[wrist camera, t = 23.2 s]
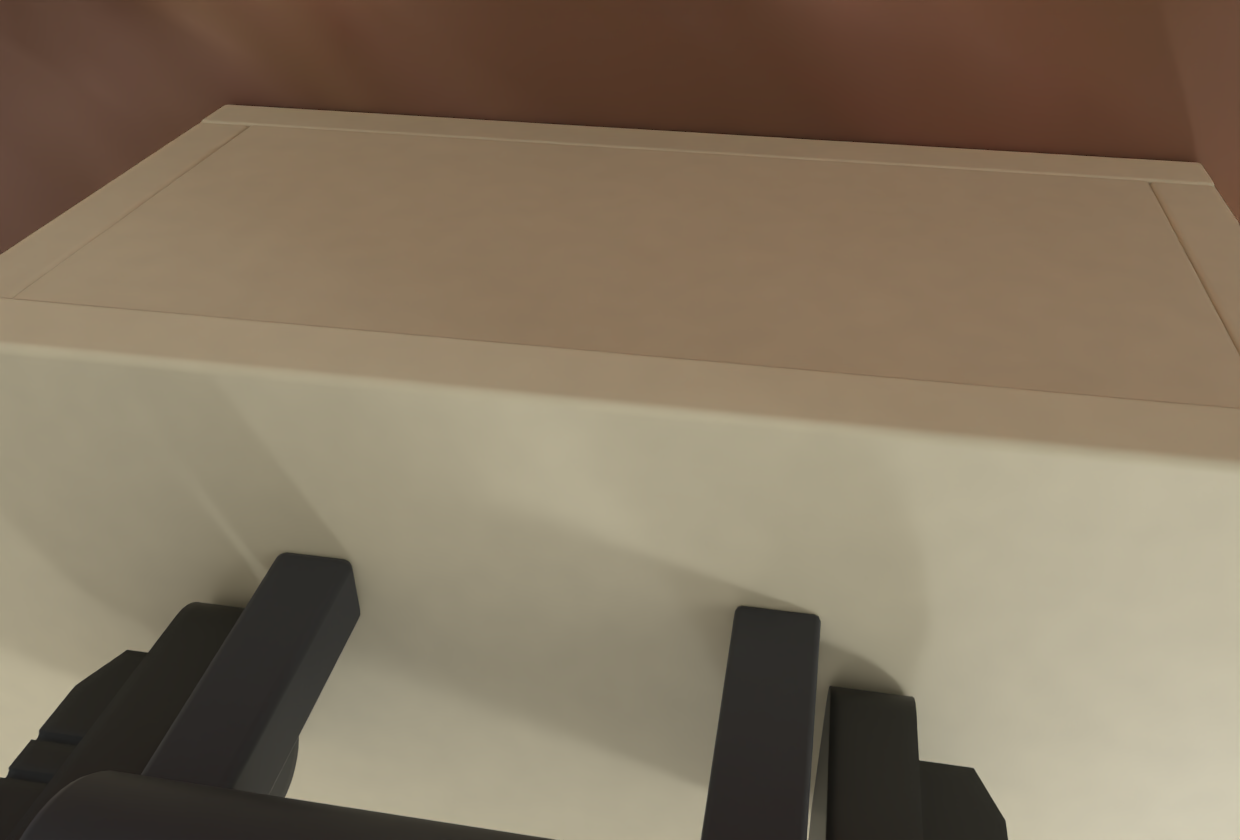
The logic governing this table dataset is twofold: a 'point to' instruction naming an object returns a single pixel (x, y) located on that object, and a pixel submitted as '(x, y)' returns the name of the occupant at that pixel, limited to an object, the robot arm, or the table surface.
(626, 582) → the lid
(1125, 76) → the table surface
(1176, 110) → the table surface
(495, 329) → the cream hinged box
